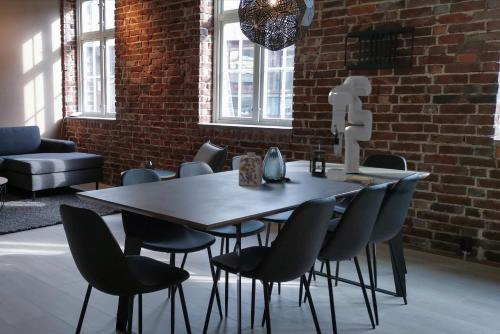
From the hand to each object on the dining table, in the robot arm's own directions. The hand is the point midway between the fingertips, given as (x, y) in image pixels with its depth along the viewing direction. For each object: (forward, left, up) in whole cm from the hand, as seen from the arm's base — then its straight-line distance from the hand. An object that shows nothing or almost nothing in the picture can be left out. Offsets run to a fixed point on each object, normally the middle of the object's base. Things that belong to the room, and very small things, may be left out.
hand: (338, 144), depth 303 cm
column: (0, 0, -7) cm, 7 cm away
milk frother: (+19, -28, -22) cm, 40 cm away
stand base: (0, 0, -22) cm, 22 cm away
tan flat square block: (0, +15, -22) cm, 27 cm away
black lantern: (-6, -15, -22) cm, 28 cm away
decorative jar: (+43, -34, -22) cm, 59 cm away
